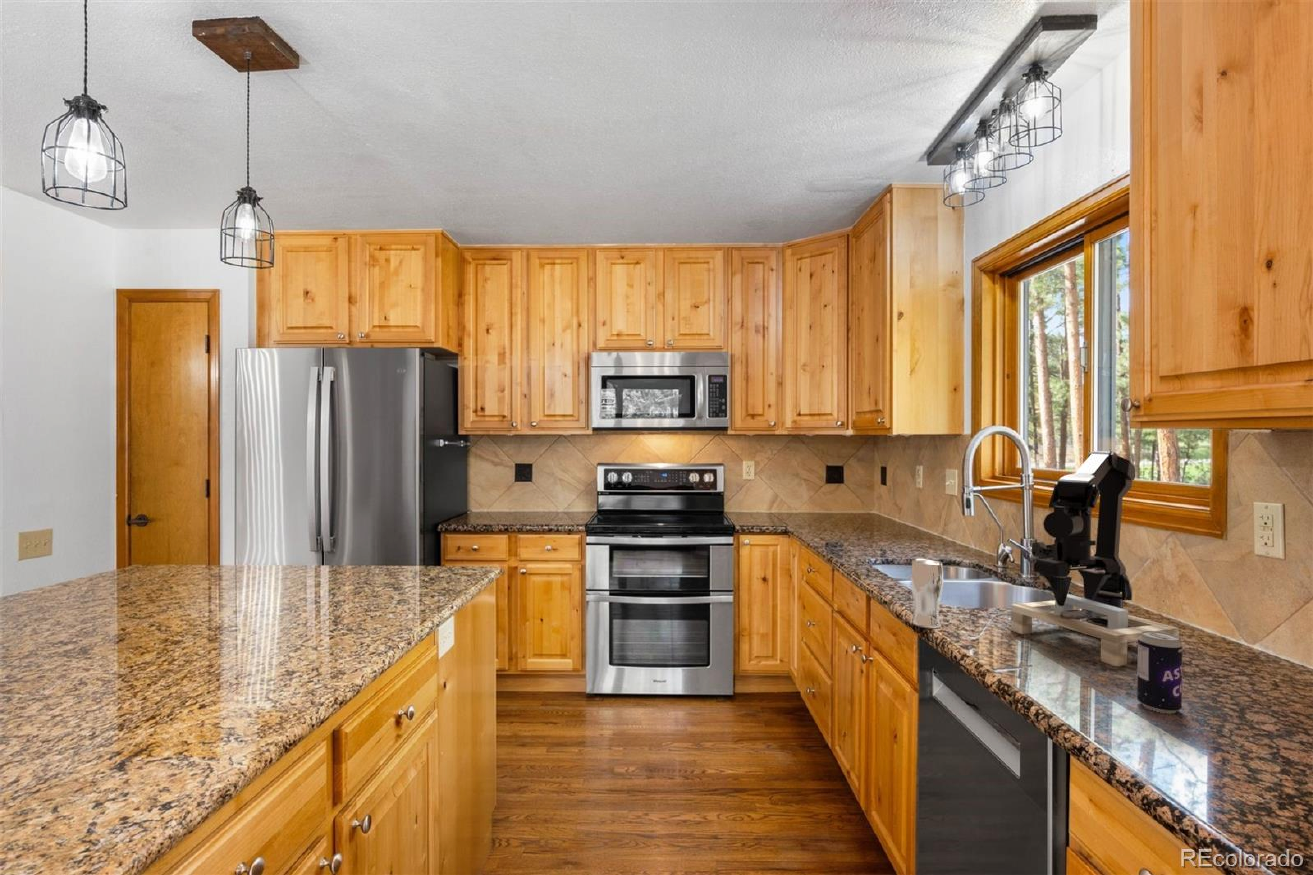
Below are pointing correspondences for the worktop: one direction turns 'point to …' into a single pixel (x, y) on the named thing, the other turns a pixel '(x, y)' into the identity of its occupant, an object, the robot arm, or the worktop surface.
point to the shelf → (1087, 628)
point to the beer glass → (927, 592)
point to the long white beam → (1096, 610)
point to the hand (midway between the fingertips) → (1074, 604)
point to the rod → (1080, 614)
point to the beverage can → (1159, 672)
